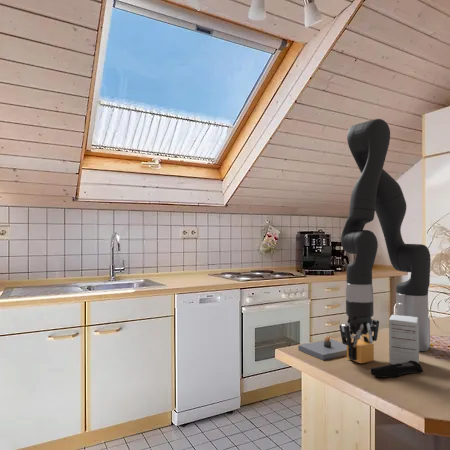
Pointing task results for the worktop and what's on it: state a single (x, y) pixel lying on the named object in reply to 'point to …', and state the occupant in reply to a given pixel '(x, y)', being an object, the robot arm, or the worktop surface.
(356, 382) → the worktop surface
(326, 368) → the worktop surface
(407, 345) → the supplement box
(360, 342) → the orange rounded cube
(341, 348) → the plate
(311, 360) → the worktop surface
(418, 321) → the robot arm
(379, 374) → the electric trimmer
